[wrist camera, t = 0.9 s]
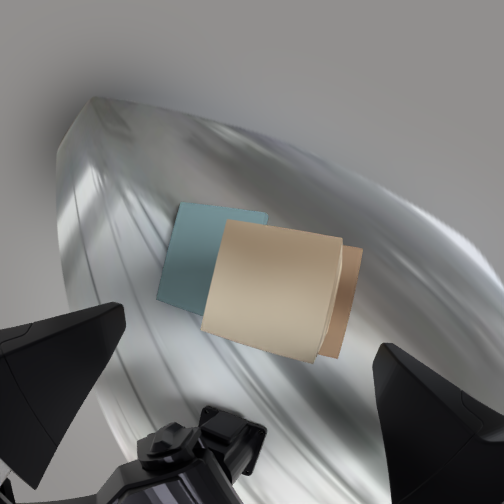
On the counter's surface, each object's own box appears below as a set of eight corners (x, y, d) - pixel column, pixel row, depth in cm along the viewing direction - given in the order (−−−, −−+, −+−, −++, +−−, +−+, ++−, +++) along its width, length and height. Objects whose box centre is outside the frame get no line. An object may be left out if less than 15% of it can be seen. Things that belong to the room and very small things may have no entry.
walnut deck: (338, 351, 20) (337, 358, 17) (258, 331, 23) (246, 335, 20) (360, 255, 21) (363, 248, 18) (279, 240, 23) (271, 232, 21)
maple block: (327, 331, 18) (313, 364, 9) (267, 317, 20) (200, 329, 10) (341, 269, 18) (342, 238, 9) (281, 257, 20) (226, 219, 11)
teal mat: (242, 326, 23) (238, 327, 22) (162, 299, 26) (156, 299, 25) (268, 216, 24) (265, 212, 23) (186, 205, 27) (180, 201, 26)
